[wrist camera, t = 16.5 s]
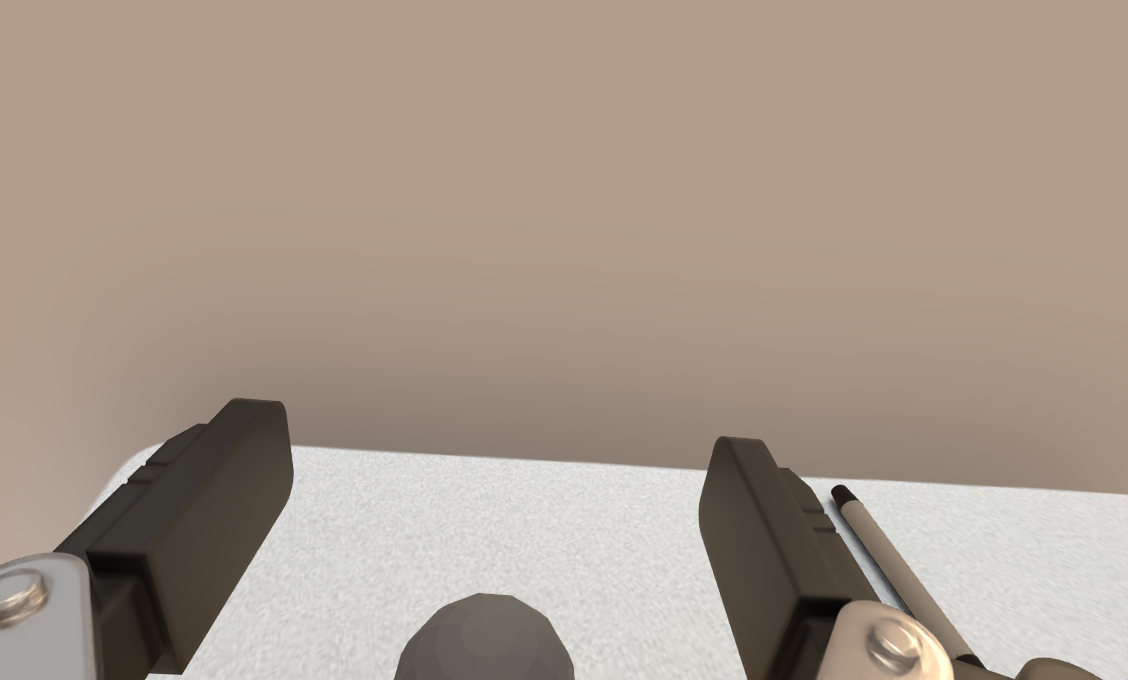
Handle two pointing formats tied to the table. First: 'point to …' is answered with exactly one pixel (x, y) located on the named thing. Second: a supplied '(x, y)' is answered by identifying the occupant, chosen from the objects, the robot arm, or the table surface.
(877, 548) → the pen
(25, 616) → the robot arm
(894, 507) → the table surface
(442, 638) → the rubber stamp
